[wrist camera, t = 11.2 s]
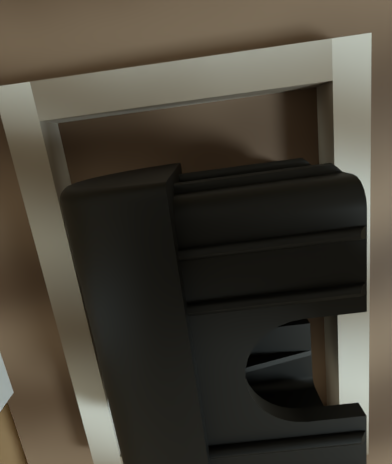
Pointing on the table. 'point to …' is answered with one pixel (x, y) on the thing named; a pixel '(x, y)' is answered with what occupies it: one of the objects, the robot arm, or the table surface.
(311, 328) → the lens rest
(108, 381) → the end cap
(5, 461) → the table surface
